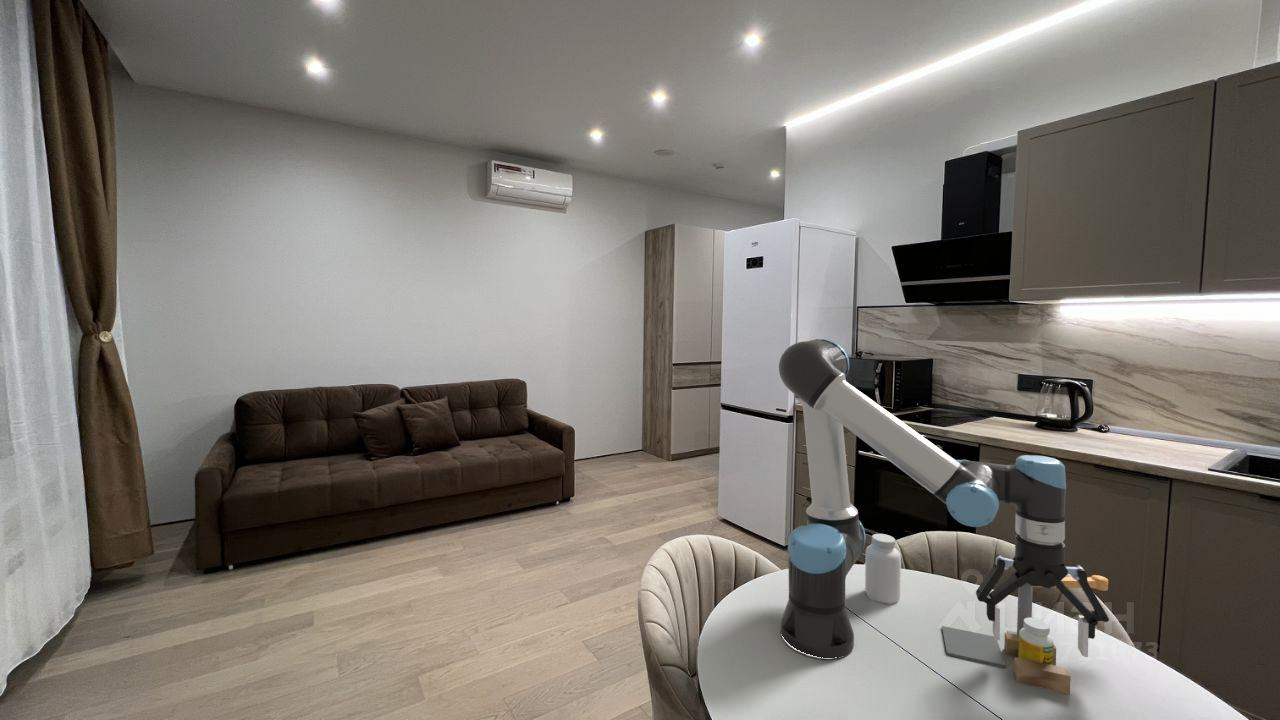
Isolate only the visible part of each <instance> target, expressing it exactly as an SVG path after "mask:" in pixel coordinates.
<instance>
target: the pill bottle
mask: <svg viewBox="0 0 1280 720" xmlns="http://www.w3.org/2000/svg"><path fill="white" fill-rule="evenodd" d="M901 559H902V555H901V553H900V551H899V550H898V549H897V548H896V539H895V538H894V537H893V536H891V535H888V534H884V533H875V534H872V536H871V543H870V545H868V546H867V547H866V549H865V560H864V561H865V571H864V572H865V573H864V574H865V575H864V576H865V578H864V579H865V582H864V583H865V585H864V586H865V588H864V589H865V595H866V596H867V597H868V598H870V599H871V600H873V601H875V602H878V603H882V604H896V603H898V602H899V601H900V599H901V581H902V580H901V576H902V575H901V572H902V571H901V570H902V567H901V564H902V563H901V562H902V560H901Z"/></svg>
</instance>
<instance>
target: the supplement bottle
mask: <svg viewBox="0 0 1280 720" xmlns="http://www.w3.org/2000/svg"><path fill="white" fill-rule="evenodd" d="M1023 626H1024V628H1022V629H1020V631H1019V655H1018V657H1017V658H1021V659H1026V660H1031V661H1035V662H1040V663H1045V664H1049V665H1053V647H1054V645H1055V644H1054V639H1053V637H1052V636H1051V635H1050V633H1051V632H1050V631H1051V630H1050V629H1051V628H1050V625H1049V623H1047V622H1045V621H1044V620H1042V619H1039V618H1034V617H1032V618H1025V619H1024V624H1023Z"/></svg>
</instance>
